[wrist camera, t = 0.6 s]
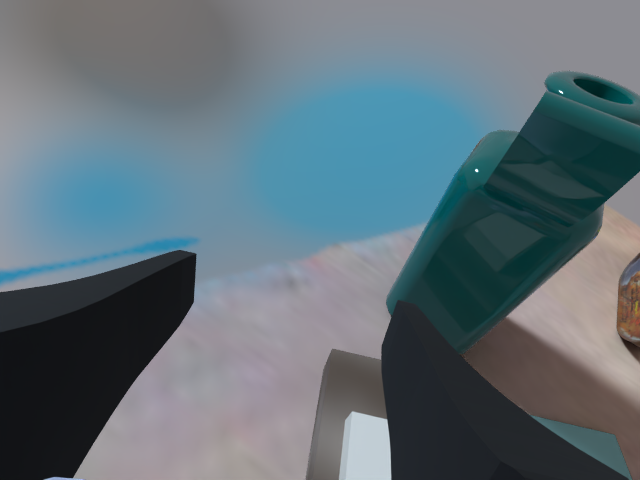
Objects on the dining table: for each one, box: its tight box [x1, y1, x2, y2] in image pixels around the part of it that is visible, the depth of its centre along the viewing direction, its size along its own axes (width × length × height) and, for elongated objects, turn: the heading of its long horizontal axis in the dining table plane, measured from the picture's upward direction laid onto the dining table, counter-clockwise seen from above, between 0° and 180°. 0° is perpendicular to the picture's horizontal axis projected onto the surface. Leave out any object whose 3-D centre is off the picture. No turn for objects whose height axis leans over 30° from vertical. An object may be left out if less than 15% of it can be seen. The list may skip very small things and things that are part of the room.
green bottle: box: [386, 71, 640, 354], centre depth 25 cm, size 10×8×22 cm
